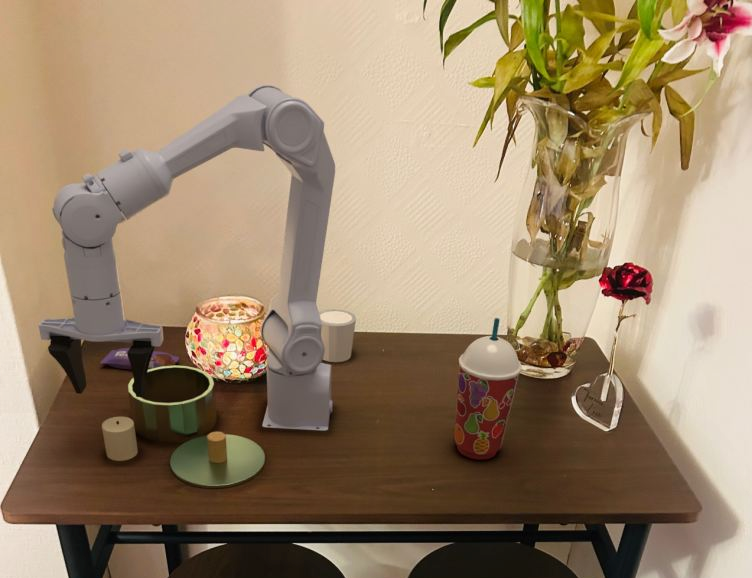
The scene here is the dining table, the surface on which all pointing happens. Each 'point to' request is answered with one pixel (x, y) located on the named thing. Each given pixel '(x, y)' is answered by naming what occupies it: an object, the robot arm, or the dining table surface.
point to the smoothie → (485, 395)
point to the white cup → (337, 334)
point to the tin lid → (217, 461)
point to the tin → (174, 404)
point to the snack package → (122, 361)
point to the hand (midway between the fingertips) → (111, 391)
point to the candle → (119, 438)
